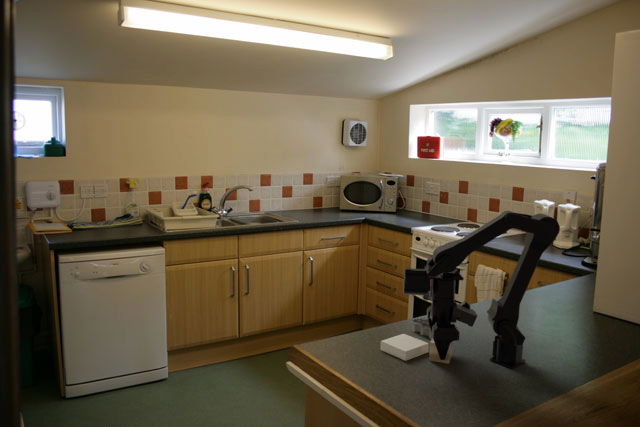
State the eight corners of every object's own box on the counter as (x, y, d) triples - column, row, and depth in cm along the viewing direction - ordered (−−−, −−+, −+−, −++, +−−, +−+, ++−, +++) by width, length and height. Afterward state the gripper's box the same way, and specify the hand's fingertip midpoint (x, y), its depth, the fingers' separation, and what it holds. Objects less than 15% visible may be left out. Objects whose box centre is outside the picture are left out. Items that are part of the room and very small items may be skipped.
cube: (448, 363, 136) (449, 345, 136) (429, 360, 138) (429, 342, 137) (451, 356, 141) (452, 338, 140) (432, 353, 143) (433, 335, 142)
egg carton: (451, 337, 155) (452, 323, 155) (432, 341, 152) (433, 327, 151) (426, 325, 164) (427, 313, 164) (407, 329, 161) (408, 316, 160)
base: (428, 352, 143) (428, 343, 143) (405, 360, 138) (405, 351, 137) (403, 342, 150) (403, 333, 150) (380, 349, 145) (380, 340, 144)
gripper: (482, 308, 127) (479, 370, 129) (469, 286, 146) (466, 341, 148) (434, 306, 128) (432, 368, 130) (427, 285, 147) (425, 339, 149)
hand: (440, 353), depth 139 cm, fingers open, 8 cm apart
